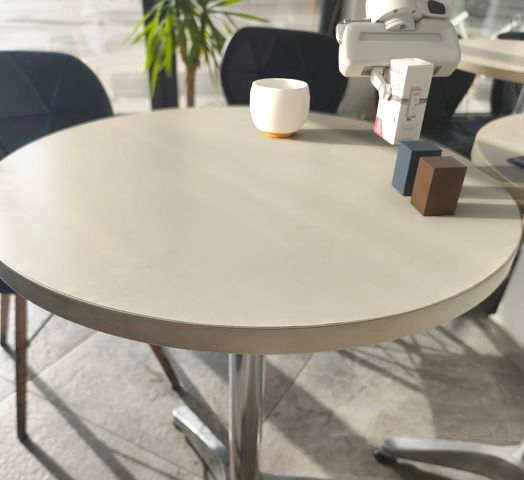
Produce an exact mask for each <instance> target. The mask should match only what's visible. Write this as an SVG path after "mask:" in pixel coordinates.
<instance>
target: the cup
mask: <svg viewBox="0 0 524 480" xmlns="http://www.w3.org/2000/svg"><path fill="white" fill-rule="evenodd" d="M249 93H250V94H249V96H250V97H249V108H250V113H251V118H252V121H253V124H254V125H255V126H256V128H257V129H258V130H260V131H262V132H263V133H264V134H265V136H267V137H269V138H276V139H283V138H289V137H291V136H292V135H293V133H295V132H298V131H299V130H300V129H301V128H302V127H303V126H304V125H305V123H306V121H307V118H308V115H309V112H310V106H311V105H310V103H311V94H310V87H309V85H308V83H307V82H305V81H302V80H299V79H293V78H279V77H278V78H276V77H275V78H274V77H273V78H272V77H271V78H262V79H257V80H254V81H253V82H252V85H251V88H250V92H249Z"/></svg>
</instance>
